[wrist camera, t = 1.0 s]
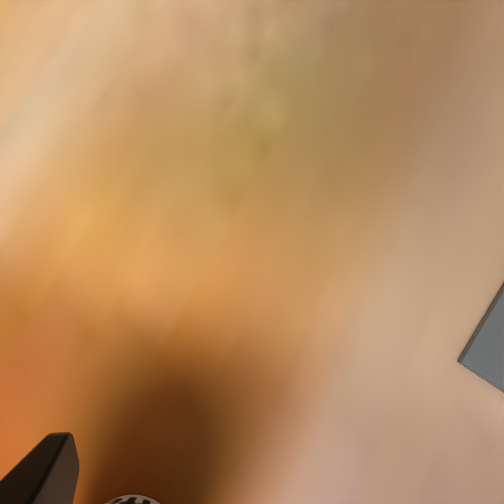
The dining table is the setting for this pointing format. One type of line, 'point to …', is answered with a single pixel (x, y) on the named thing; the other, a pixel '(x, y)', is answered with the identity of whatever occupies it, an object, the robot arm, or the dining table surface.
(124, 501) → the cup
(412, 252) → the dining table surface
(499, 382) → the mat
